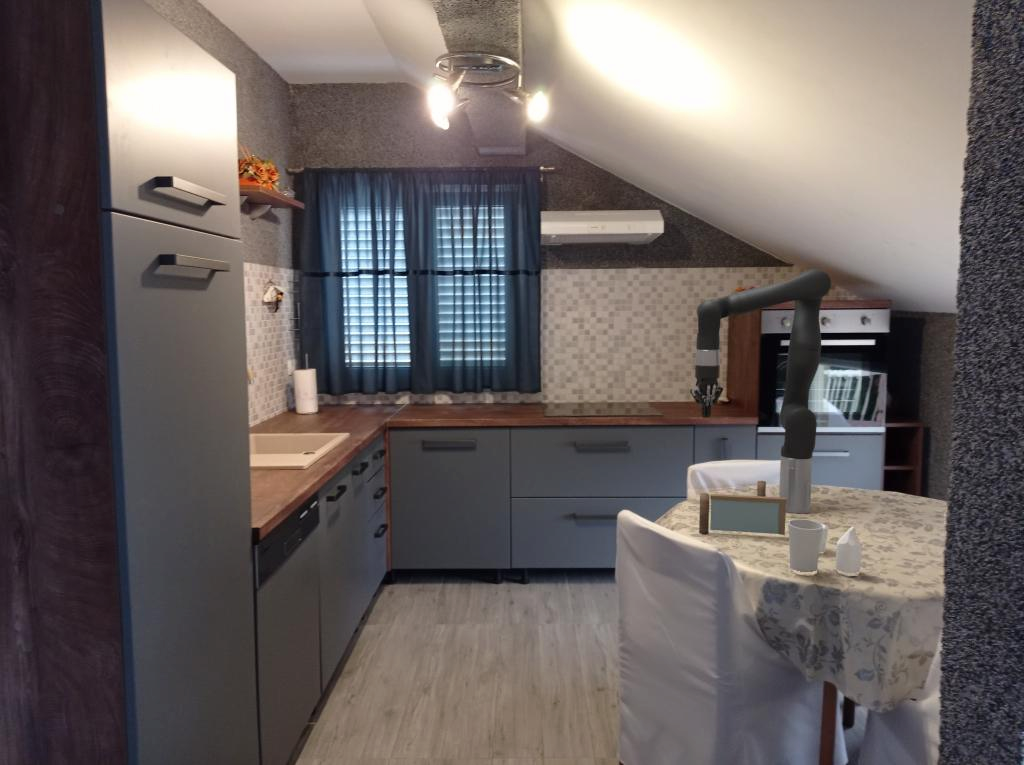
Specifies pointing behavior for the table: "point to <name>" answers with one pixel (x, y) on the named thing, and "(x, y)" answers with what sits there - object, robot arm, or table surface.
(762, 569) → the table surface
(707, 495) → the gate posts
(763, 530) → the gate
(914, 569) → the table surface
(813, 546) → the cup
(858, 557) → the white pointed prism
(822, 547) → the shot glass
